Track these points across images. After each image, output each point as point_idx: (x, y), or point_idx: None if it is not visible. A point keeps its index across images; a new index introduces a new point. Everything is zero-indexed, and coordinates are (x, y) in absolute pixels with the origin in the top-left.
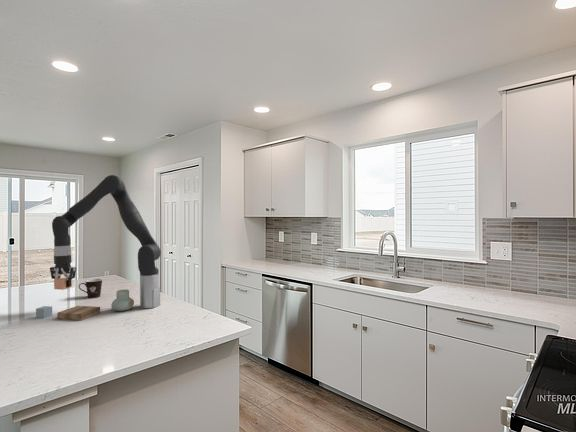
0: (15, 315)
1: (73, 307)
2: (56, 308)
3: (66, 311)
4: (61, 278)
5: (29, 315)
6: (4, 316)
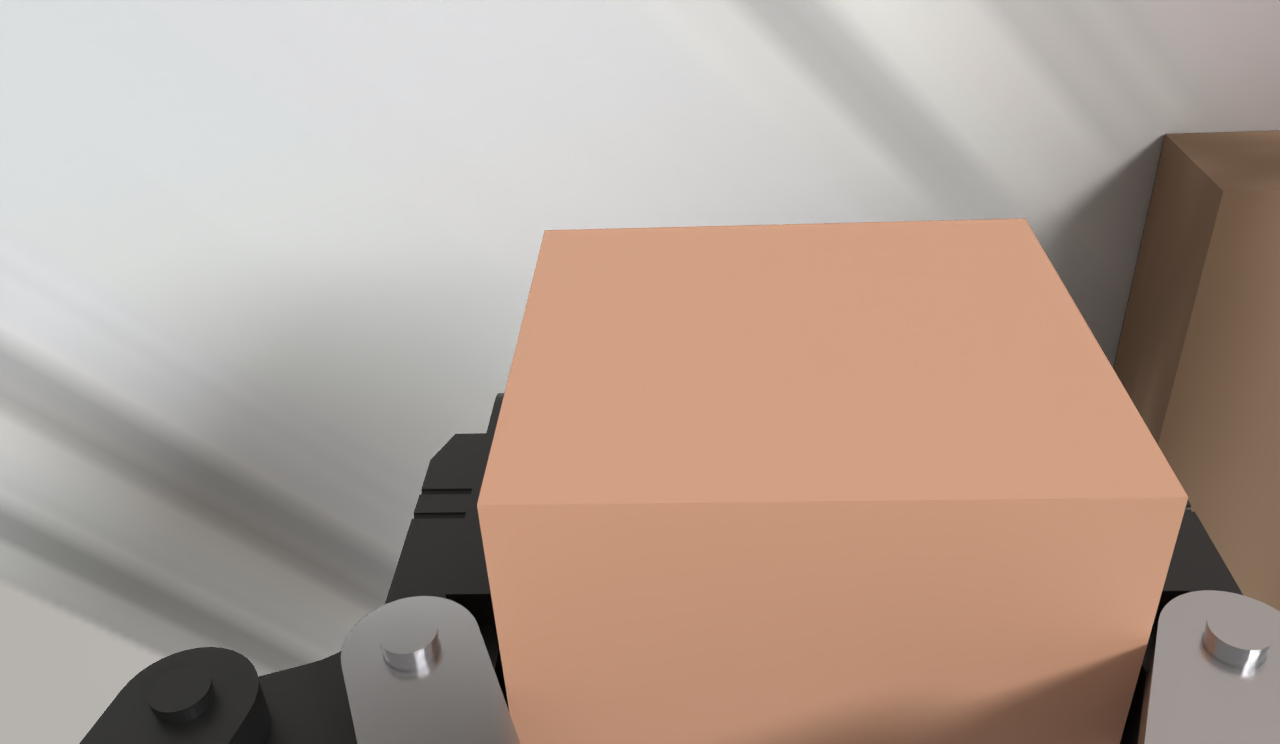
0: (149, 538)
1: (1211, 335)
2: (424, 26)
3: (1243, 566)
4: (691, 734)
5: (387, 500)
6: (42, 600)
